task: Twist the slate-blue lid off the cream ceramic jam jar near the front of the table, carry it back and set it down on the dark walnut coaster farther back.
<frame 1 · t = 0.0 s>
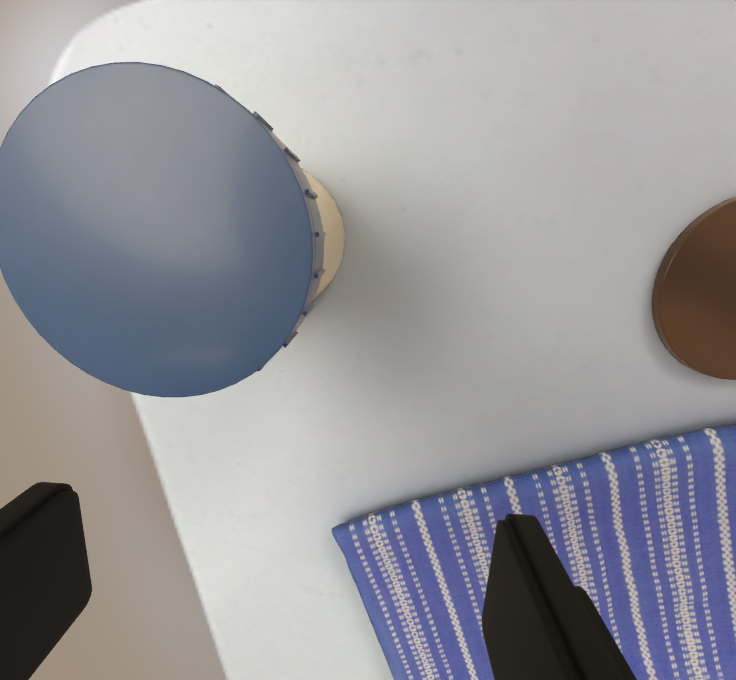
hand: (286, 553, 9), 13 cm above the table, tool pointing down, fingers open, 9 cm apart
dish towel: (563, 579, 25), on the table
lid: (160, 246, 10), point 11 cm above the table, screwed on, not yet turned
jar: (274, 238, 20), on the table
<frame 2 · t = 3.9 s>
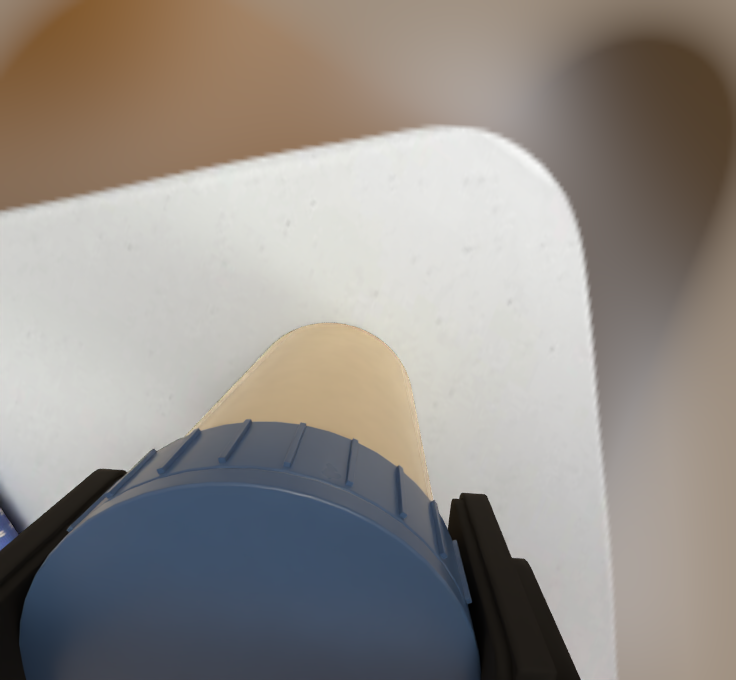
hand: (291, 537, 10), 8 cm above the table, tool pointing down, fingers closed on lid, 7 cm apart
lid: (256, 660, 7), point 11 cm above the table, screwed on, not yet turned, touching gripper
jar: (331, 401, 17), on the table
when the fingers open (7 cm above the table, at t = 6.5 s): lid stays where it is, point 11 cm above the table.
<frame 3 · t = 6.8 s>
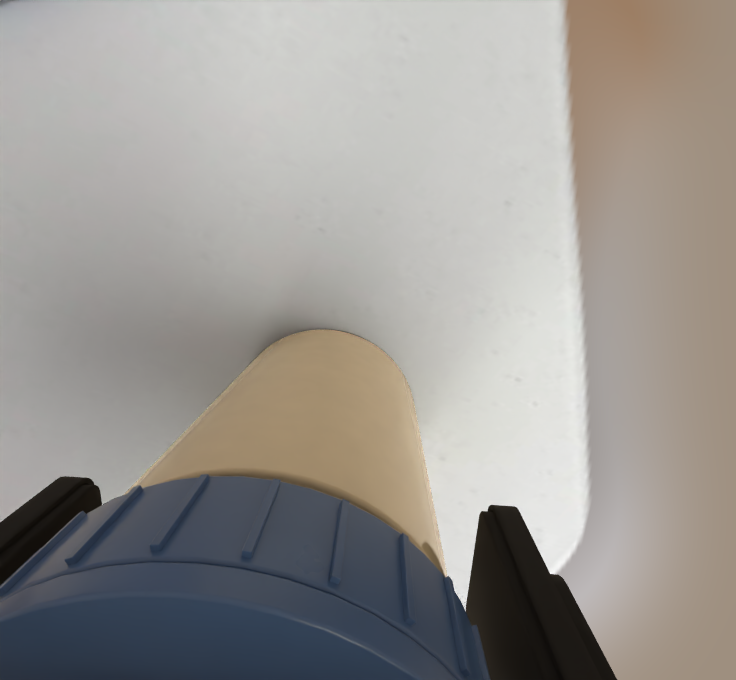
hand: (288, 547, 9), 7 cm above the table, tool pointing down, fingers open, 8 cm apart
jar: (325, 415, 16), on the table
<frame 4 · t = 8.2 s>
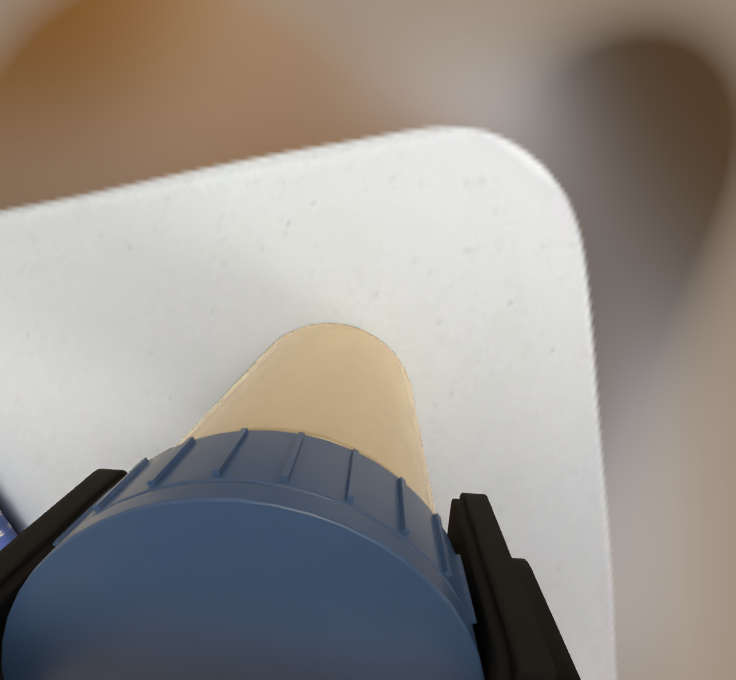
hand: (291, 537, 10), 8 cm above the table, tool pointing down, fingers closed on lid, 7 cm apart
jar: (331, 402, 17), on the table
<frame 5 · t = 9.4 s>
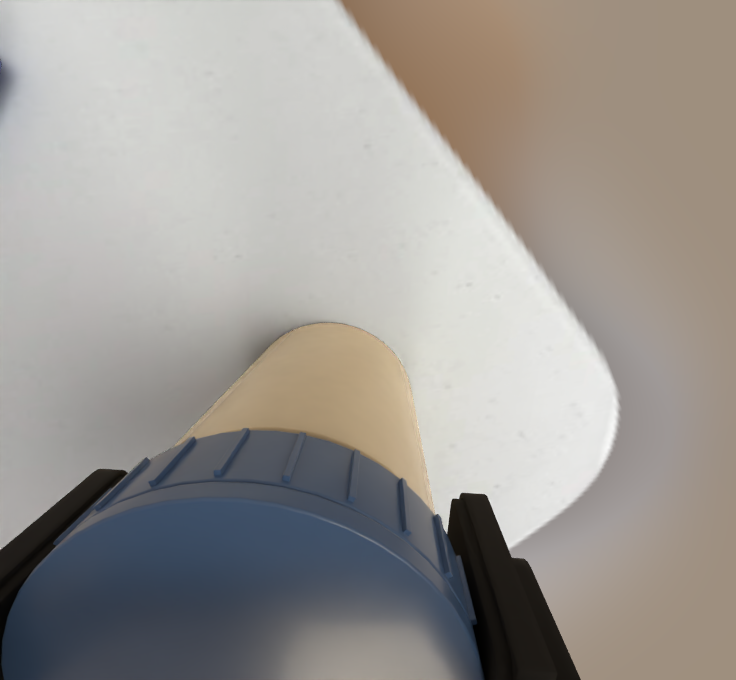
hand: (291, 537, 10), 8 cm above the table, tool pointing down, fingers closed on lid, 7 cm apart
jar: (330, 401, 17), on the table
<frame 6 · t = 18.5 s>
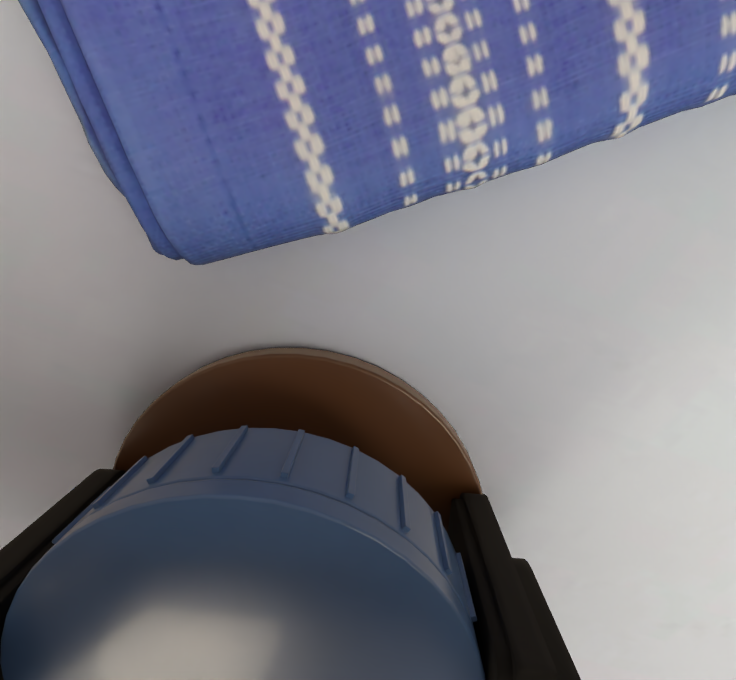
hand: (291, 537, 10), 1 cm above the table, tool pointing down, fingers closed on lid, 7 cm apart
lid: (250, 678, 7), point 4 cm above the table, off its thread, touching gripper
coaster: (299, 519, 10), on the table
when the fingers open (2 cm above the table, at t = 29.2 s): lid drops 3 cm, resting on coaster.
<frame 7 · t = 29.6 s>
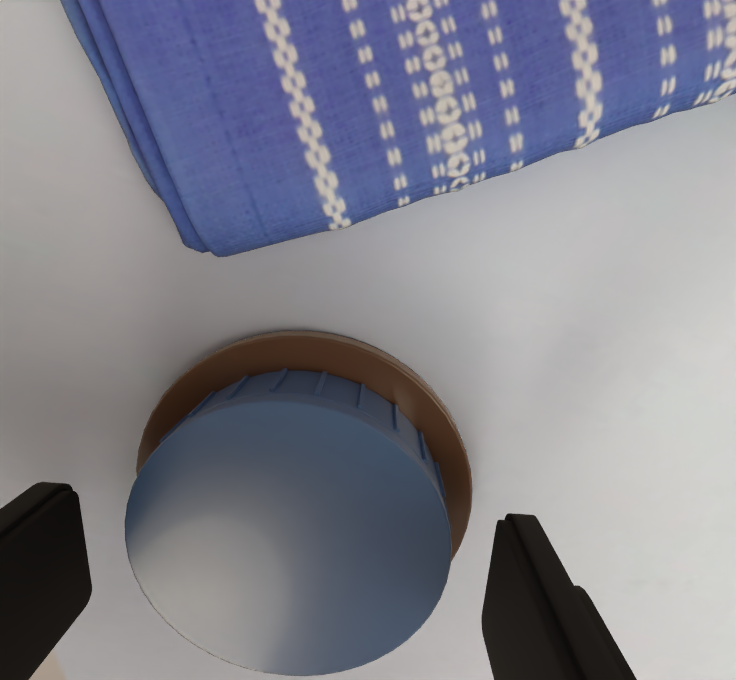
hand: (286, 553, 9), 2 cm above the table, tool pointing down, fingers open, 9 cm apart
lid: (290, 540, 9), point 2 cm above the table, off its thread, touching coaster
coaster: (306, 485, 11), on the table
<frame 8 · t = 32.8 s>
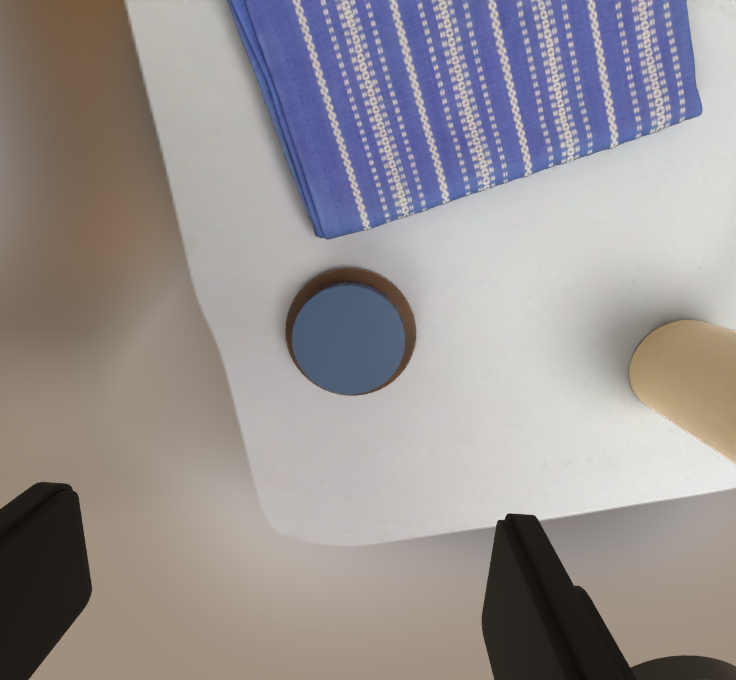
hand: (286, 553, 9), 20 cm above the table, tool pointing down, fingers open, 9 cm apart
dish towel: (458, 41, 24), on the table
lid: (348, 340, 27), point 2 cm above the table, off its thread, touching coaster
jar: (678, 366, 29), on the table
coaster: (351, 332, 29), on the table
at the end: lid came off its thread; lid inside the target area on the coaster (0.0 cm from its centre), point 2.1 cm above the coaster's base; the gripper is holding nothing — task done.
